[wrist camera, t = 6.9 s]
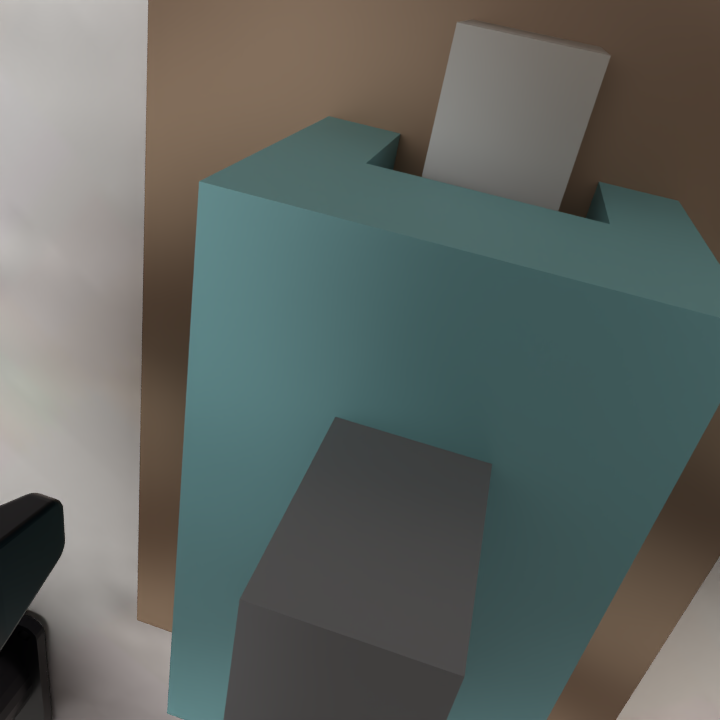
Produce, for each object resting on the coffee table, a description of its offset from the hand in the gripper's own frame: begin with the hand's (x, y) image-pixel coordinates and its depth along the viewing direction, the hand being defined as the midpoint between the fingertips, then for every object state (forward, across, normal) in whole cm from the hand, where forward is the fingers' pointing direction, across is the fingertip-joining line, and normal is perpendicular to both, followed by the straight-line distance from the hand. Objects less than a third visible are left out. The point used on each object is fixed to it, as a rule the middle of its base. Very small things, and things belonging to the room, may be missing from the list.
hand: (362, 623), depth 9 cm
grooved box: (+6, 0, 0) cm, 6 cm away
